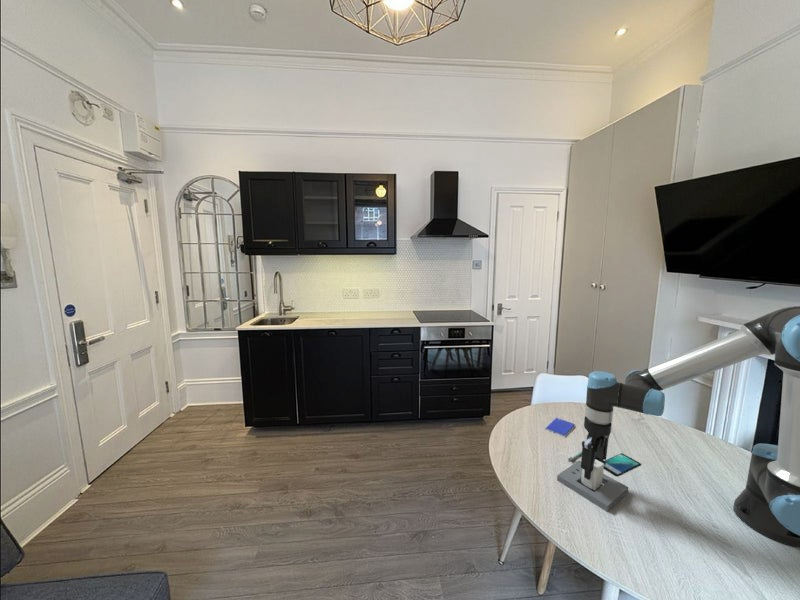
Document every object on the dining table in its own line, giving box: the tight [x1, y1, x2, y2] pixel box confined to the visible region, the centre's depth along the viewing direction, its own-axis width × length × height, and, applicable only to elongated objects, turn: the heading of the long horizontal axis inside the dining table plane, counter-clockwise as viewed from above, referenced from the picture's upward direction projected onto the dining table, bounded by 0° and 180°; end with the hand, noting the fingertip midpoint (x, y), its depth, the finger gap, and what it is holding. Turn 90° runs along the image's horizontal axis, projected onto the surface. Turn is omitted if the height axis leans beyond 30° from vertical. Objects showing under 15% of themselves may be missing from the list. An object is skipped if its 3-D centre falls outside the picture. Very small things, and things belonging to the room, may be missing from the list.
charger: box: [580, 459, 605, 491], centre depth 106 cm, size 4×4×8 cm
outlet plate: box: [556, 460, 629, 512], centre depth 107 cm, size 16×14×2 cm
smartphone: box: [603, 452, 641, 477], centre depth 117 cm, size 7×1×15 cm
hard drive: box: [544, 417, 576, 438], centre depth 142 cm, size 2×8×12 cm
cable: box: [567, 450, 582, 463], centre depth 123 cm, size 1×13×1 cm, turn 123°
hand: (591, 482), depth 107 cm, fingers closed on charger, 4 cm apart
